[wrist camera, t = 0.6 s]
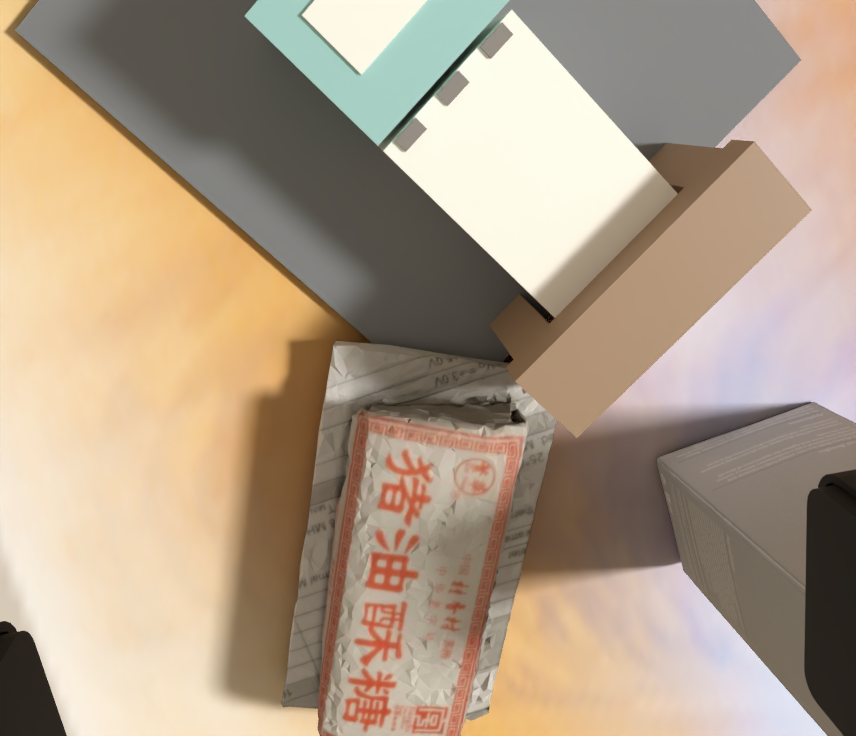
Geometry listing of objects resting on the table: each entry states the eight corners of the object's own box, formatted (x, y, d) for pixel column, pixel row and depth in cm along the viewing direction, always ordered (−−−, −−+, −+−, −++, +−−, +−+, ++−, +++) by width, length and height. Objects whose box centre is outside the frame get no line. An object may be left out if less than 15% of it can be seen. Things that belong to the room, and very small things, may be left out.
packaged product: (502, 776, 36) (276, 769, 34) (481, 700, 40) (281, 690, 39) (595, 402, 30) (332, 371, 29) (559, 362, 35) (331, 333, 33)
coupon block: (531, -28, 30) (583, -63, 24) (728, 197, 33) (818, 218, 27) (333, 192, 32) (331, 213, 25) (540, 385, 35) (584, 444, 29)
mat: (396, -446, 26) (397, -455, 26) (795, 60, 32) (801, 59, 32) (18, 31, 29) (14, 30, 29) (450, 409, 35) (451, 412, 35)
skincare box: (677, 566, 39) (888, 850, 24) (648, 437, 37) (860, 663, 22) (842, 512, 39) (1155, 762, 24) (823, 381, 37) (1155, 567, 22)
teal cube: (372, -97, 29) (381, -149, 23) (479, 18, 30) (512, -3, 24) (262, 33, 30) (243, 15, 24) (370, 138, 31) (378, 146, 25)
